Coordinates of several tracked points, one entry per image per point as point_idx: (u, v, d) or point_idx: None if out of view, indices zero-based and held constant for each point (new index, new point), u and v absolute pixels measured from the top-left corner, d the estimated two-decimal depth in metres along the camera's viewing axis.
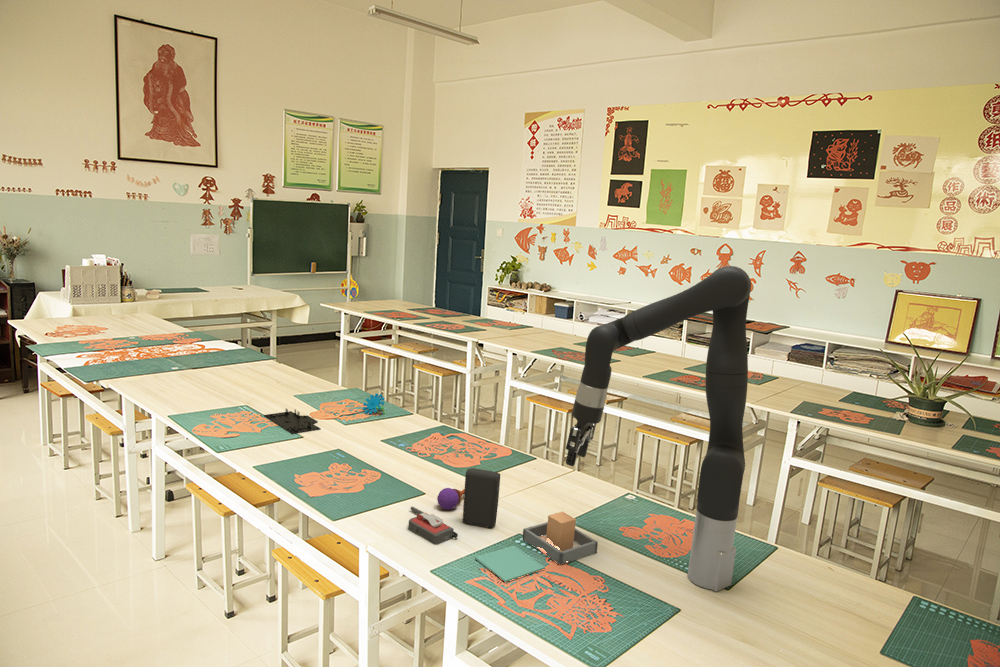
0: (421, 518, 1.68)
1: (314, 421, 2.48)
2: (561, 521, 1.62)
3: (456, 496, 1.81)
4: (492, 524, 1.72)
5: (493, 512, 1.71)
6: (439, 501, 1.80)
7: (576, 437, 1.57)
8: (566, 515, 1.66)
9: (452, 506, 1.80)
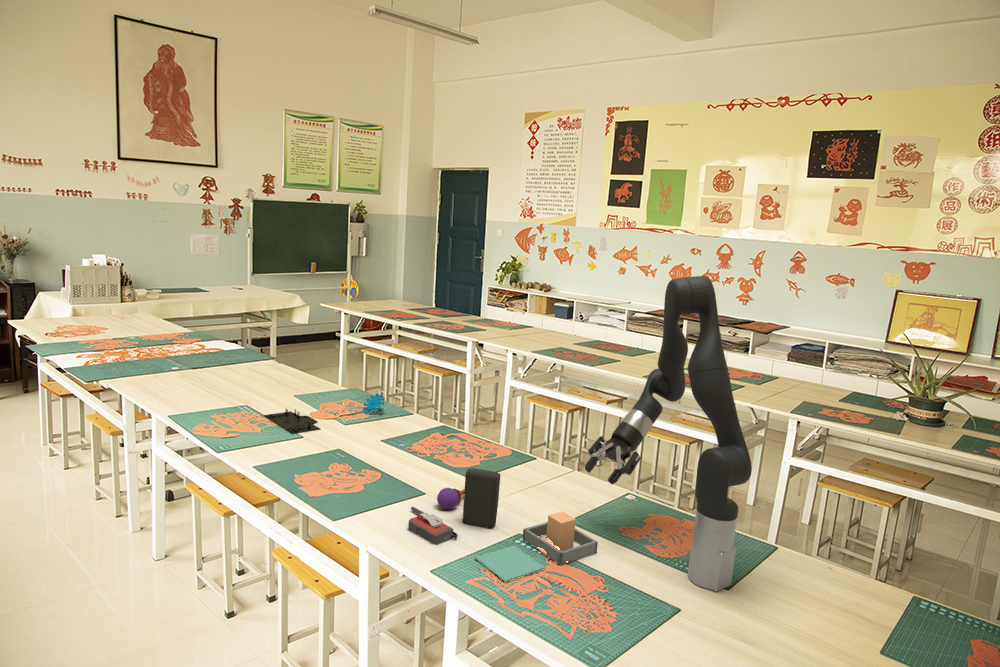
0: (421, 518, 1.68)
1: (314, 421, 2.48)
2: (561, 521, 1.62)
3: (456, 496, 1.81)
4: (492, 524, 1.72)
5: (493, 512, 1.71)
6: (439, 501, 1.81)
7: None
8: (566, 515, 1.66)
9: (451, 506, 1.80)
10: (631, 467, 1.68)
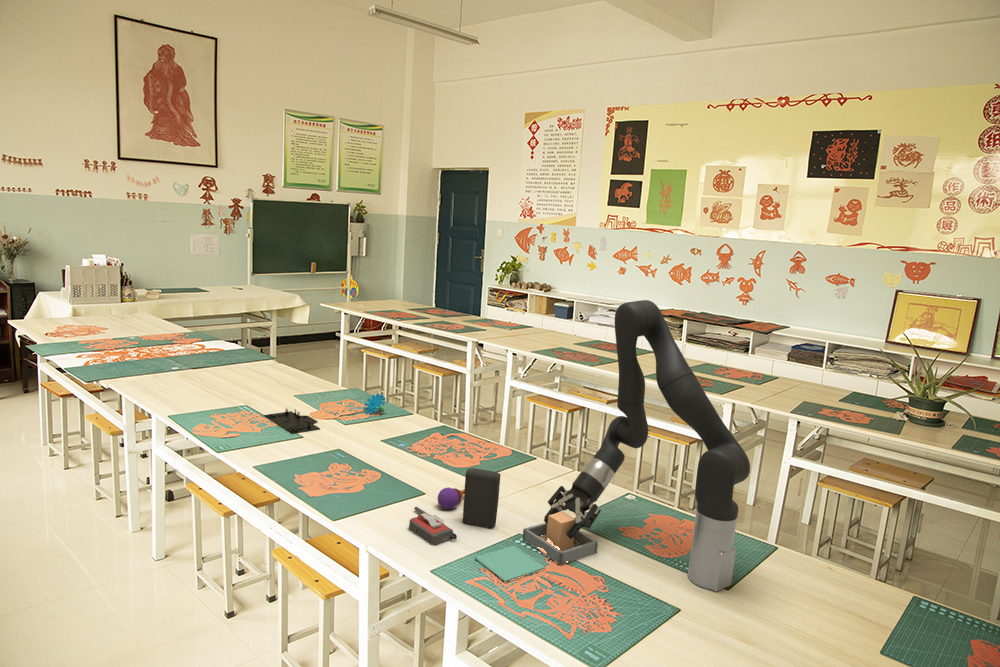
0: (422, 518, 1.68)
1: (314, 421, 2.48)
2: (561, 521, 1.62)
3: (456, 496, 1.81)
4: (492, 524, 1.72)
5: (493, 512, 1.71)
6: (439, 500, 1.81)
7: None
8: (566, 515, 1.66)
9: (452, 505, 1.81)
10: (590, 520, 1.62)
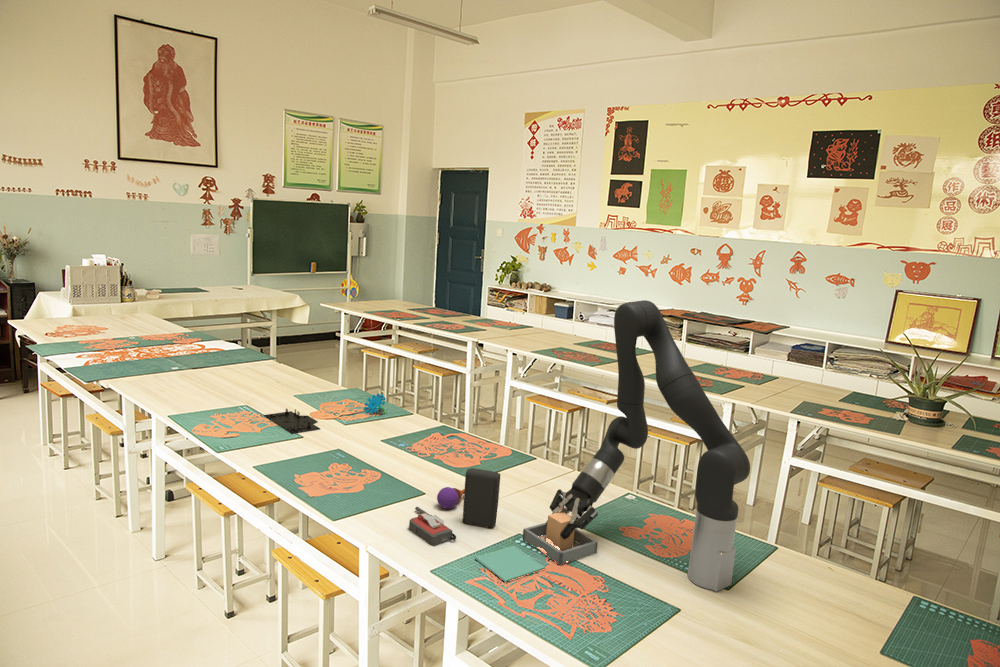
0: (421, 518, 1.67)
1: (314, 421, 2.48)
2: (561, 521, 1.62)
3: (455, 495, 1.82)
4: (492, 524, 1.72)
5: (493, 512, 1.71)
6: (438, 500, 1.81)
7: None
8: (566, 515, 1.66)
9: (451, 505, 1.81)
10: (585, 522, 1.62)
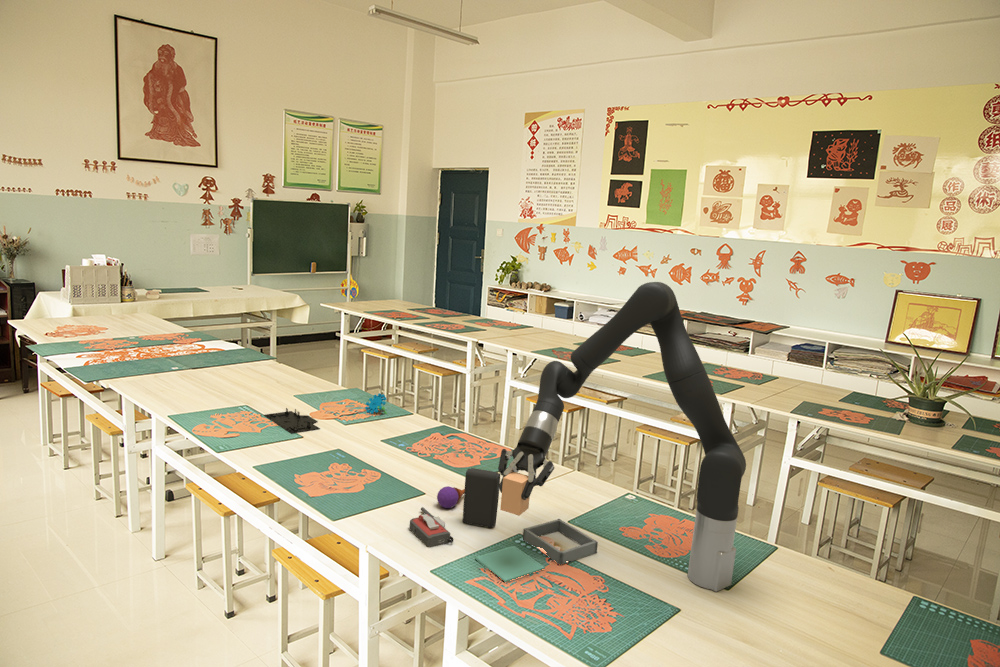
0: (421, 519, 1.67)
1: (314, 421, 2.48)
2: (521, 481, 1.49)
3: (455, 495, 1.82)
4: (492, 524, 1.72)
5: (493, 512, 1.71)
6: (438, 499, 1.82)
7: None
8: (519, 474, 1.53)
9: (451, 504, 1.81)
10: (543, 478, 1.52)
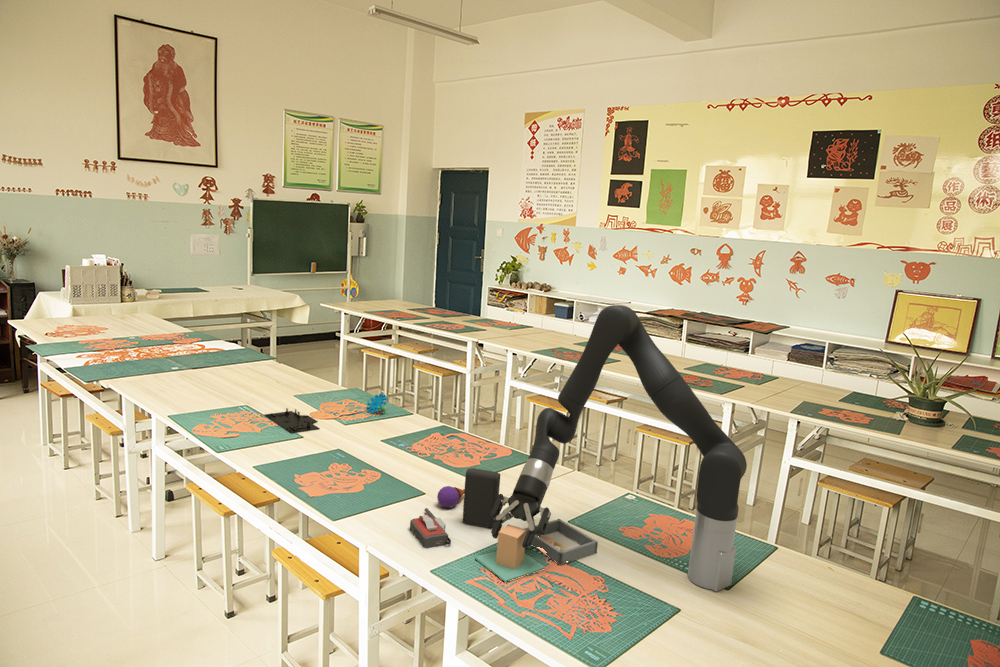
0: (421, 520, 1.67)
1: (314, 421, 2.48)
2: (516, 536, 1.51)
3: (455, 494, 1.82)
4: (492, 524, 1.72)
5: None
6: (439, 499, 1.82)
7: None
8: (515, 527, 1.55)
9: (451, 504, 1.81)
10: None
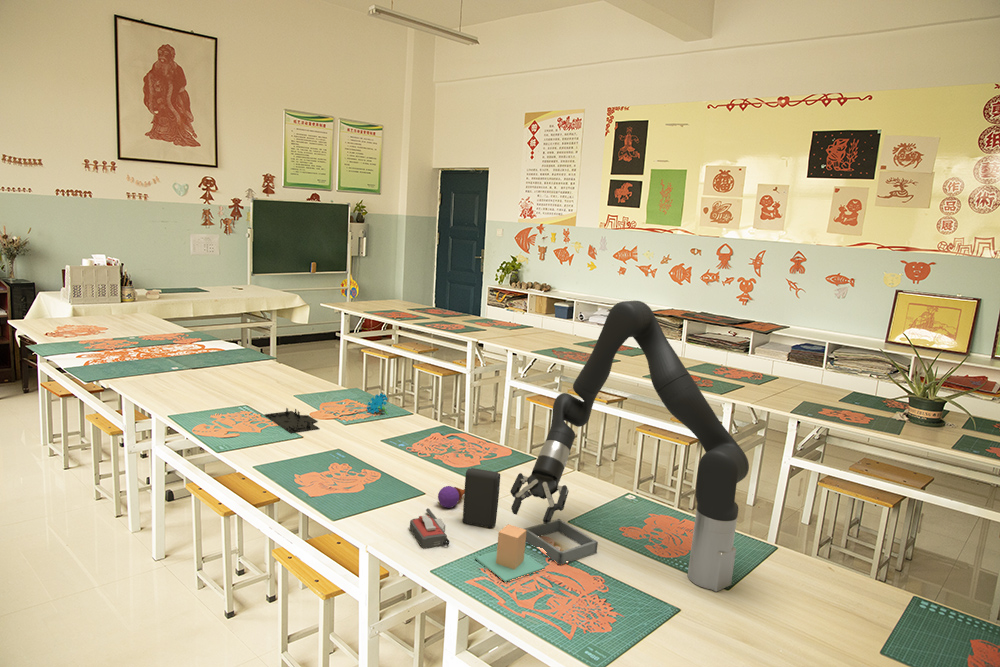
0: (421, 520, 1.67)
1: (314, 421, 2.48)
2: (516, 536, 1.51)
3: (456, 494, 1.82)
4: (492, 524, 1.72)
5: (493, 512, 1.71)
6: (439, 499, 1.82)
7: None
8: (515, 527, 1.55)
9: (451, 504, 1.81)
10: None
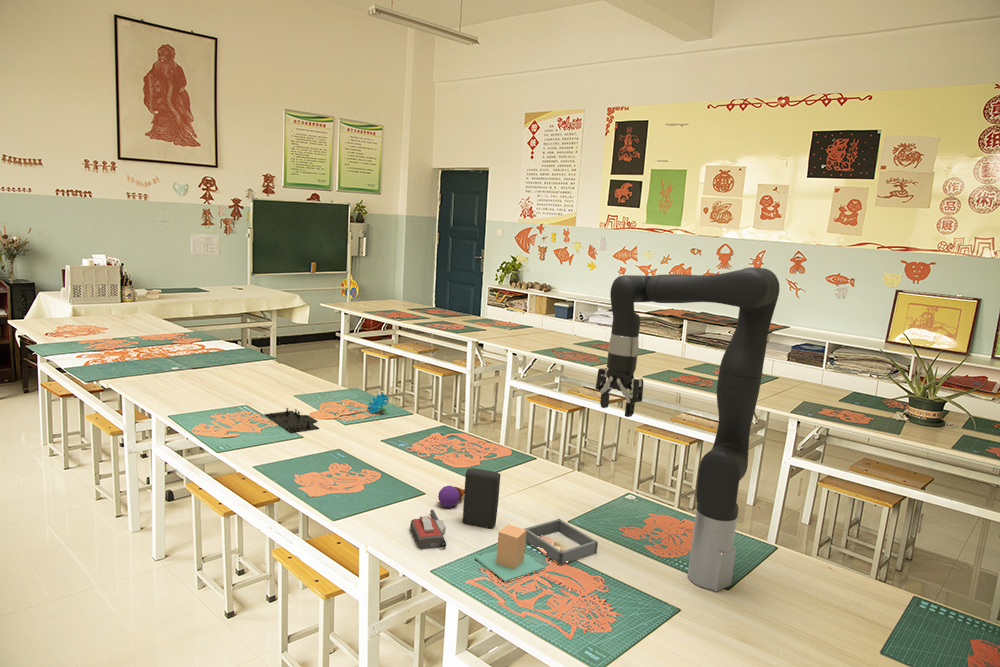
0: (421, 520, 1.66)
1: (314, 421, 2.49)
2: (516, 536, 1.51)
3: (456, 494, 1.82)
4: (492, 524, 1.72)
5: (493, 512, 1.71)
6: (439, 498, 1.82)
7: None
8: (515, 527, 1.55)
9: (451, 503, 1.82)
10: (639, 393, 1.64)
